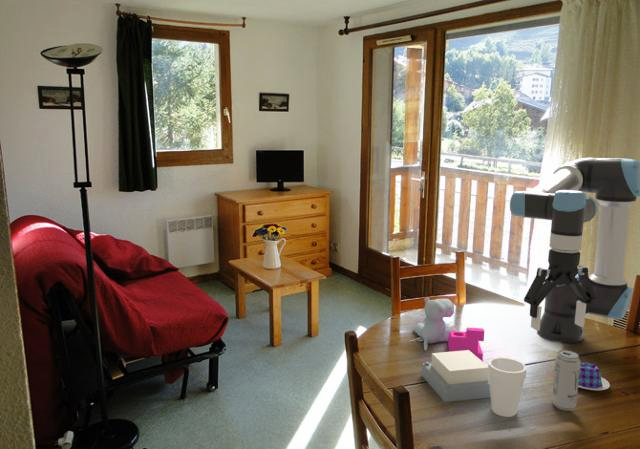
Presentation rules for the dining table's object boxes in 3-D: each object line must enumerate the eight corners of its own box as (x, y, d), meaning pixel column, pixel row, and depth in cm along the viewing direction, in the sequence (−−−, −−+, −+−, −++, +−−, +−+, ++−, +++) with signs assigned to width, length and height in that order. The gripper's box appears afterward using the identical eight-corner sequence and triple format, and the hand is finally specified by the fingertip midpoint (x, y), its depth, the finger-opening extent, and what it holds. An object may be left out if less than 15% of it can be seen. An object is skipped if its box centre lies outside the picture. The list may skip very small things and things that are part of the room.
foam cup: (480, 402, 142) (483, 357, 140) (512, 400, 143) (516, 356, 141) (494, 420, 133) (497, 373, 131) (529, 419, 134) (533, 372, 132)
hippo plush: (466, 340, 184) (467, 298, 181) (425, 351, 174) (426, 307, 172) (436, 327, 197) (437, 288, 194) (396, 337, 187) (397, 296, 185)
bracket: (482, 361, 168) (484, 331, 167) (449, 358, 170) (451, 329, 168) (477, 346, 180) (479, 318, 178) (447, 344, 182) (448, 316, 180)
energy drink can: (572, 414, 136) (577, 360, 134) (548, 406, 140) (553, 354, 138) (578, 405, 141) (583, 353, 138) (555, 398, 145) (560, 347, 142)
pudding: (600, 375, 159) (602, 359, 158) (616, 394, 148) (618, 377, 147) (559, 372, 161) (561, 356, 160) (571, 390, 150) (573, 373, 149)
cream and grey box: (470, 371, 161) (471, 346, 159) (497, 396, 145) (499, 369, 144) (421, 375, 158) (422, 351, 156) (444, 402, 142) (446, 374, 141)
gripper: (594, 245, 142) (587, 319, 145) (514, 248, 136) (507, 325, 140) (616, 251, 135) (607, 328, 138) (531, 254, 129) (524, 335, 133)
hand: (557, 327), depth 139 cm, fingers open, 13 cm apart
